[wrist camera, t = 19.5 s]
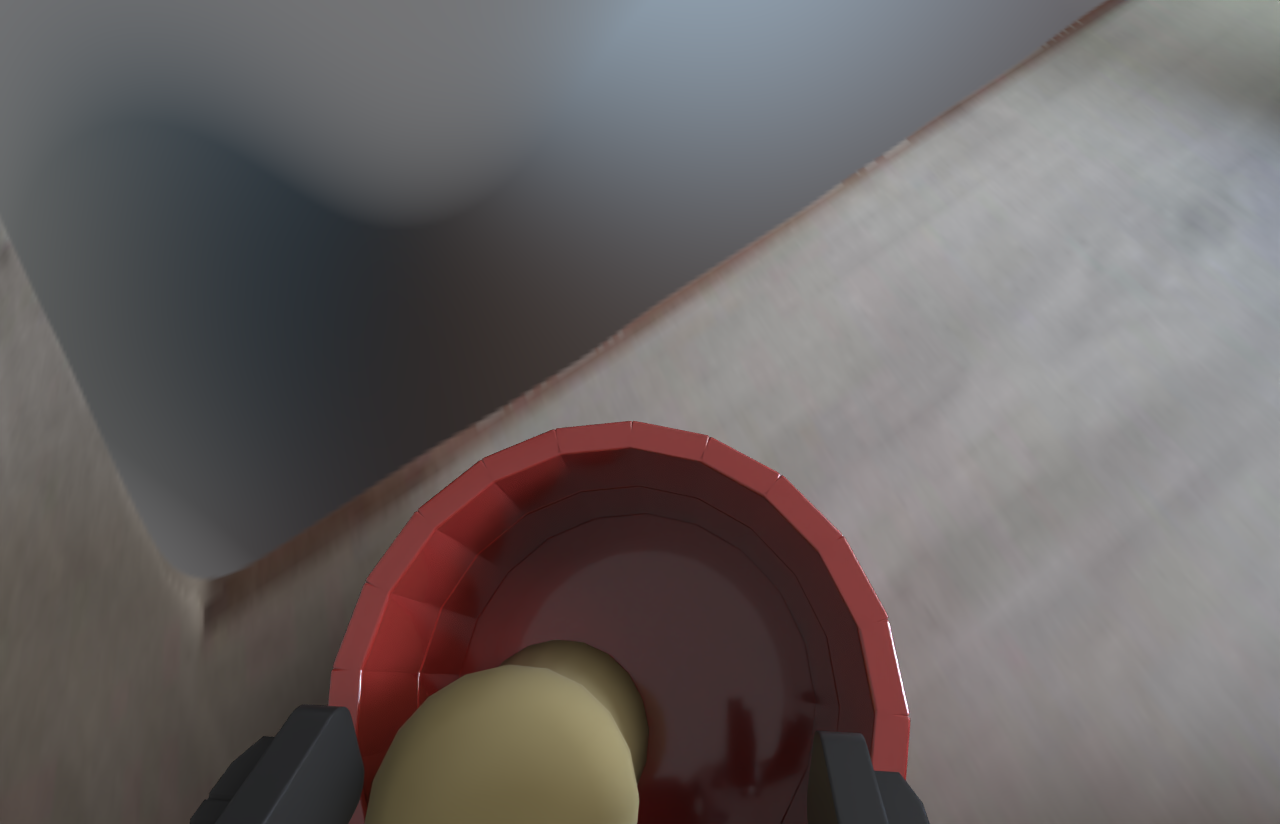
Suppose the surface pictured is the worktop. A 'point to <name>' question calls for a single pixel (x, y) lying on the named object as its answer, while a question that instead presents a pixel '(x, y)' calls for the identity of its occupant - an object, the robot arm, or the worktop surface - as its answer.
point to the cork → (520, 745)
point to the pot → (640, 612)
